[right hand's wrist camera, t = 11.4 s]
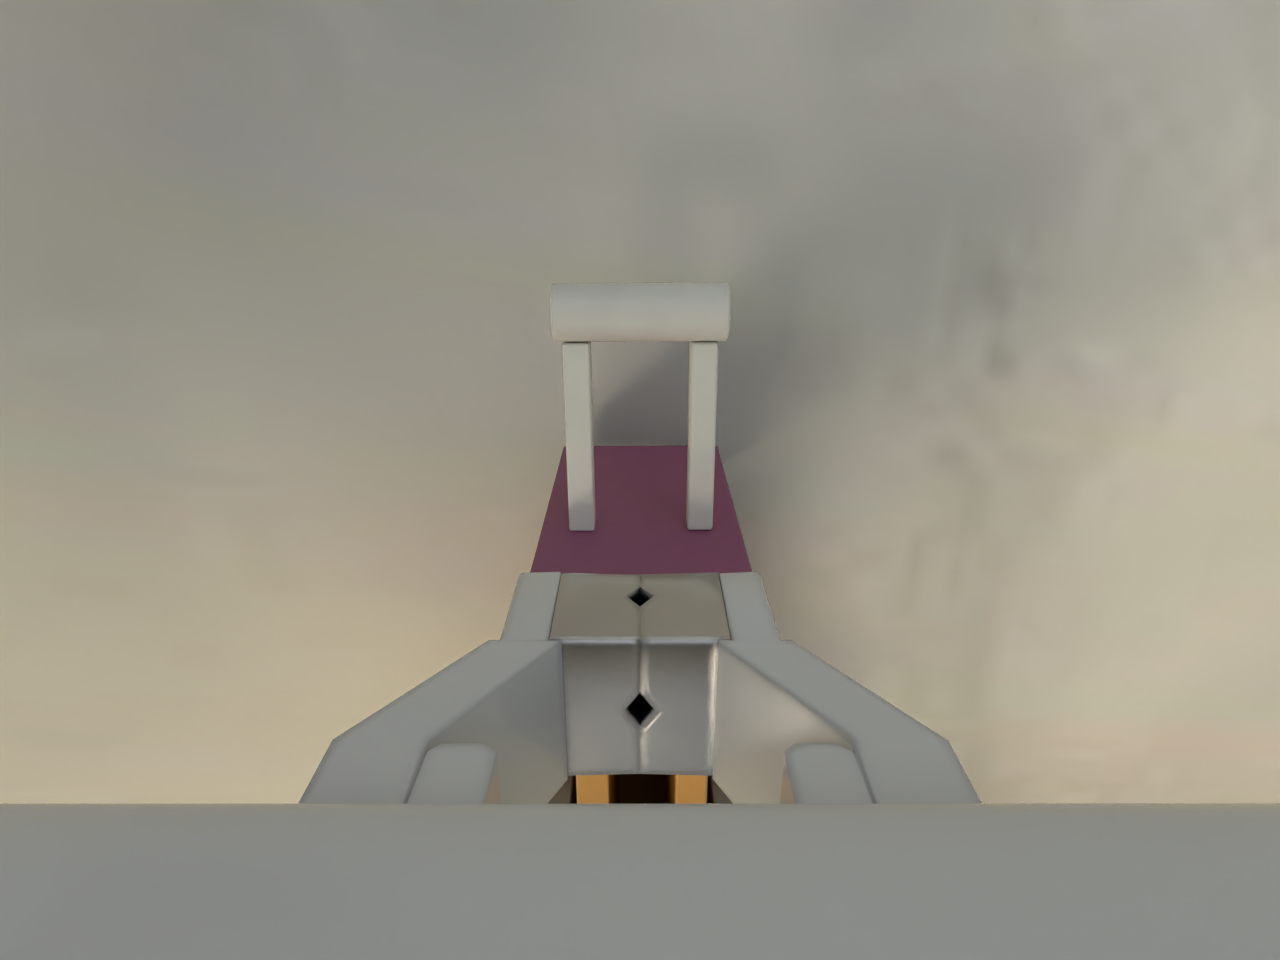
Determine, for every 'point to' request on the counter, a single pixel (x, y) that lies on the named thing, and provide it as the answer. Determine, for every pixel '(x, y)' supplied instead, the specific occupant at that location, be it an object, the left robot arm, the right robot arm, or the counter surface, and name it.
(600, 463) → the drawer
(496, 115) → the counter surface
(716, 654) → the right robot arm
